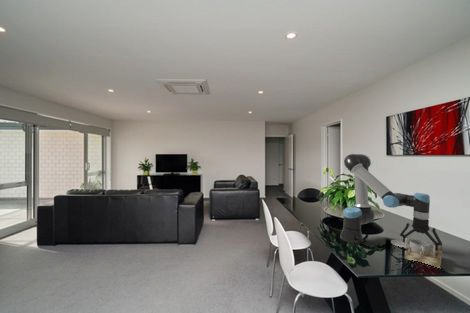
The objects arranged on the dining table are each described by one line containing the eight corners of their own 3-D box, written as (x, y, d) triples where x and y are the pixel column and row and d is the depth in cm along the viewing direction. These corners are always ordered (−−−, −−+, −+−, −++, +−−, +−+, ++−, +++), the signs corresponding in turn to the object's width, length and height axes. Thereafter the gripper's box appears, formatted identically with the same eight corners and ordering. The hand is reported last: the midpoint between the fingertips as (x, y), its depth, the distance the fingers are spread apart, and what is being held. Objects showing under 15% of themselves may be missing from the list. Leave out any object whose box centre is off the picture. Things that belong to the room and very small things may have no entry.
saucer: (389, 244, 155) (389, 242, 155) (392, 240, 163) (392, 237, 163) (410, 250, 146) (410, 247, 146) (412, 245, 154) (412, 242, 154)
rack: (404, 258, 133) (405, 246, 133) (409, 249, 146) (409, 238, 146) (440, 269, 122) (440, 255, 121) (441, 258, 135) (442, 245, 135)
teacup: (408, 249, 144) (408, 237, 144) (430, 254, 137) (430, 241, 137) (408, 256, 133) (409, 243, 133) (432, 262, 126) (432, 249, 126)
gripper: (395, 214, 141) (394, 246, 142) (448, 224, 123) (446, 260, 124) (397, 212, 147) (396, 243, 147) (448, 221, 129) (447, 256, 129)
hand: (419, 251), depth 135 cm, fingers open, 13 cm apart
